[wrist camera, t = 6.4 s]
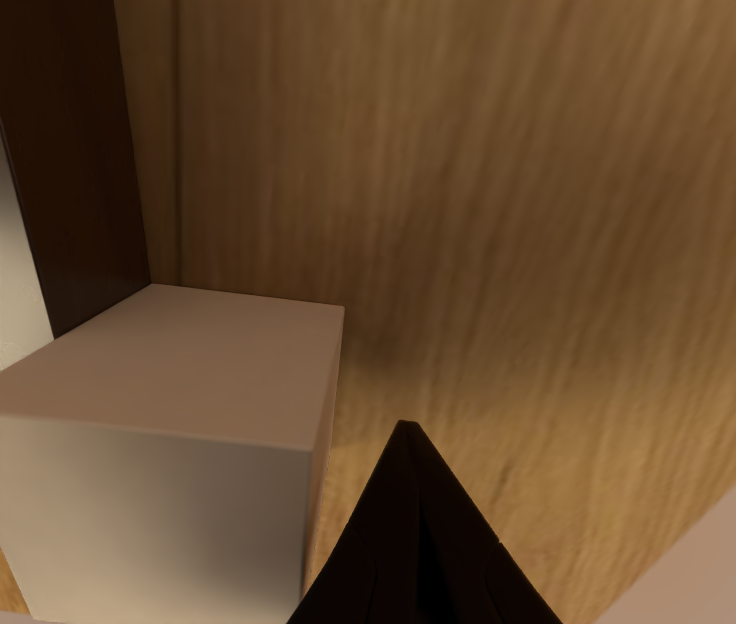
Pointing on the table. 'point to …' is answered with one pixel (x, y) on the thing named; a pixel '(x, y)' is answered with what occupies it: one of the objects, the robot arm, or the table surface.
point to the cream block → (170, 459)
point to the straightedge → (63, 173)
